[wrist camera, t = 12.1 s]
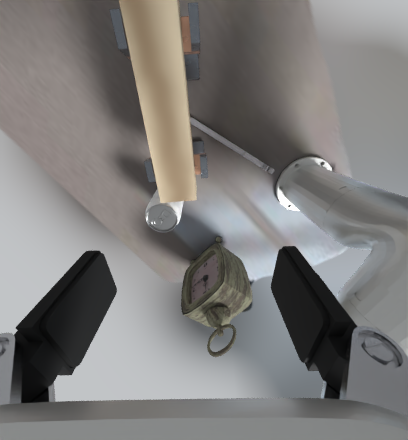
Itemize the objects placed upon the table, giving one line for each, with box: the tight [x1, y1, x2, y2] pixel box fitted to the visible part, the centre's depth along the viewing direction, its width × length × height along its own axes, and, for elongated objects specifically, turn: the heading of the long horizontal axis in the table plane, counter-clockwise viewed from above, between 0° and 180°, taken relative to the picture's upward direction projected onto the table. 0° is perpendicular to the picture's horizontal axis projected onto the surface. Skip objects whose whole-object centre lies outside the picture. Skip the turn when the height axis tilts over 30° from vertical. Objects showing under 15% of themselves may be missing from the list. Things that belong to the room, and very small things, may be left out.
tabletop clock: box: [181, 237, 252, 357], centre depth 40 cm, size 14×9×25 cm, turn 139°
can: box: [145, 189, 184, 232], centre depth 36 cm, size 6×6×12 cm
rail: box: [119, 0, 196, 203], centre depth 22 cm, size 5×22×6 cm, turn 4°
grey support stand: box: [110, 2, 208, 182], centre depth 28 cm, size 9×20×13 cm, turn 4°
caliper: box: [190, 117, 275, 174], centre depth 34 cm, size 20×1×6 cm, turn 61°
